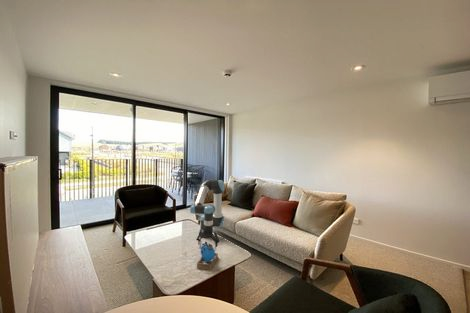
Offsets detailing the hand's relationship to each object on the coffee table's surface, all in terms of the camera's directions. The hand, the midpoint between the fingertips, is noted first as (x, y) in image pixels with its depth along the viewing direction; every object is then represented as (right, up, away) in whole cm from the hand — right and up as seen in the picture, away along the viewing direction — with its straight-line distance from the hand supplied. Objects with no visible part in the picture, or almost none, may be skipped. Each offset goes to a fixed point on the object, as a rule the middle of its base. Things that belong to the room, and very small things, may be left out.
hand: (207, 249), depth 168 cm
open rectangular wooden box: (0, -11, +1) cm, 11 cm away
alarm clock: (0, -10, +1) cm, 10 cm away
